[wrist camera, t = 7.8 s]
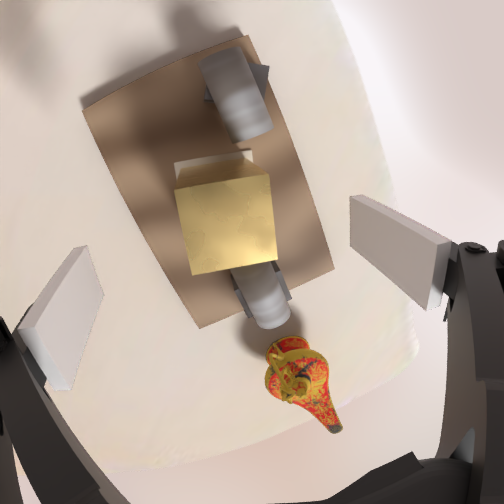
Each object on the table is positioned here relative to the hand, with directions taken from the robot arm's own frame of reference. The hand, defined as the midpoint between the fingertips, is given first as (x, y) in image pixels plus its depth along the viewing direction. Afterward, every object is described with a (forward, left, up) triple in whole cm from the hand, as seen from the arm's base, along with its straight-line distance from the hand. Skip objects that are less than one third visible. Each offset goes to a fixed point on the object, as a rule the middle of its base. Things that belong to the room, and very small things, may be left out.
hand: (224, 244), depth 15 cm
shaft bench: (0, 0, -12) cm, 12 cm away
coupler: (0, 0, -10) cm, 10 cm away
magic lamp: (+17, -13, -12) cm, 25 cm away
